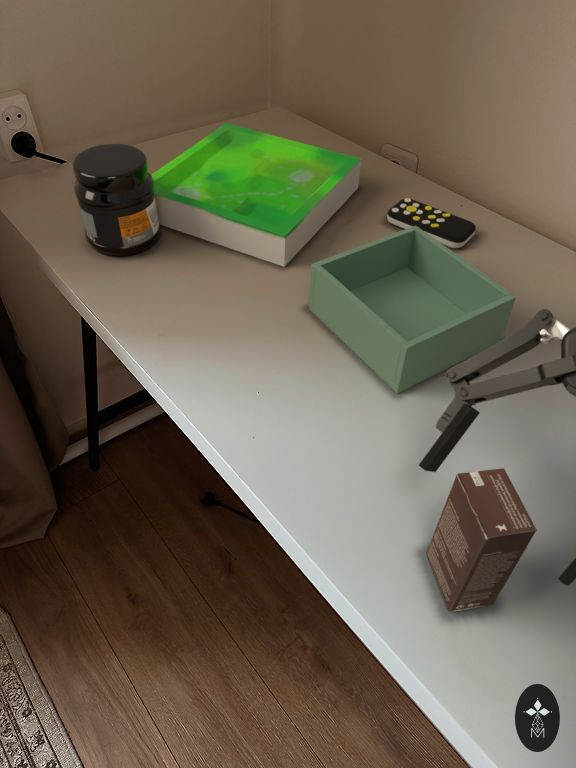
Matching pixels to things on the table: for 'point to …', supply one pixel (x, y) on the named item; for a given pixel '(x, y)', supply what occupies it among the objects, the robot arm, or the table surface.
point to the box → (478, 539)
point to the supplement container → (116, 199)
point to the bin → (408, 306)
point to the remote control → (432, 222)
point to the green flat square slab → (254, 191)
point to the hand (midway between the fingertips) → (490, 521)
